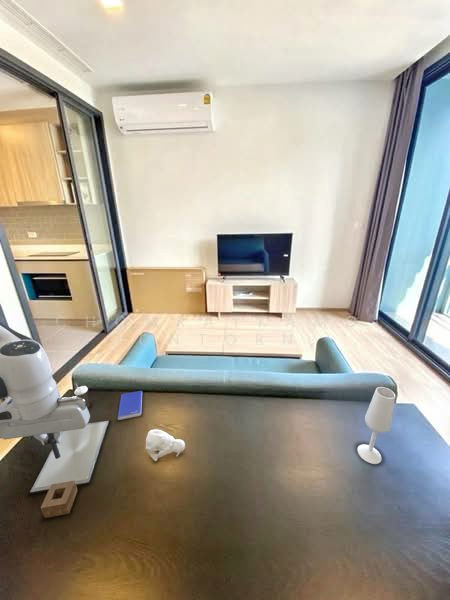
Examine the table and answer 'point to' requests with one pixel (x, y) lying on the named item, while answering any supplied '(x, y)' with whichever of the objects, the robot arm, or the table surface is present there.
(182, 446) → the white animal figurine
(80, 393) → the milkshake
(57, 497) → the stand
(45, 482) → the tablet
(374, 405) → the champagne flute
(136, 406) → the hard drive
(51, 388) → the robot arm
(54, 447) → the stylus
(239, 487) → the table surface
